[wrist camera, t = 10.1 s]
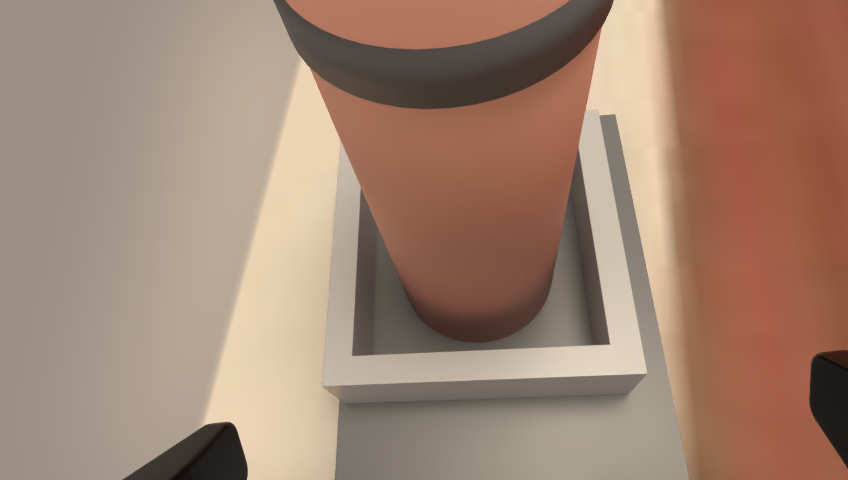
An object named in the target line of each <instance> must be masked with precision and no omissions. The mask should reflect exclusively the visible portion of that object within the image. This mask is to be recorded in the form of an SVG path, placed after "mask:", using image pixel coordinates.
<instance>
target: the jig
mask: <svg viewBox="0 0 848 480" xmlns="http://www.w3.org/2000/svg"><path fill="white" fill-rule="evenodd" d="M322 386H323V387H324V388H325V389H327V390H328V391H329V392H331V393H332V394H333V395H335V396H336V397H338V398H339V399H340V404H339V420H338V437H337V454H336V471H335V480H689V475H688V471H687V466H686V461H685V456H684V451H683V446H682V441H681V436H680V431H679V426H678V421H677V416H676V411H675V407H674V402H673V397H672V392H671V387H670V382H669V377H668V372H667V367H666V362H665V357H664V352H663V348H662V343H661V338H660V333H659V328H658V323H657V318H656V313H655V308H654V303H653V298H652V293H651V288H650V284H649V279H648V274H647V269H646V264H645V259H644V254H643V249H642V244H641V239H640V234H639V229H638V224H637V220H636V215H635V210H634V205H633V200H632V195H631V190H630V185H629V180H628V175H627V170H626V165H625V161H624V156H623V151H622V146H621V141H620V136H619V131H618V126H617V121H616V116H615V114H613V115H602V116H599V112H598V110H588V111H585V115H584V120H583V125H582V130H581V135H580V141H579V146H578V151H577V156H576V161H575V166H574V171H573V176H572V181H571V187H570V192H569V197H568V202H567V207H566V212H565V217H564V222H563V227H562V233H561V238H560V243H559V248H558V253H557V258H556V263H555V268H554V273H553V279H552V284H551V288H550V292H549V295H548V297H547V300H546V302H545V304H544V306H543V307H542V309H541V311H540V312H539V313H538V314H537V316H536V317H535V318H534V319H533V320H532V321H531V322H530V323H529V324H528V325H526V326H525V327H524V328H522V329H521V330H519V331H518V332H516V333H514V334H512V335H510V336H508V337H505V338H502V339H499V340H495V341H490V342H480V343H479V342H465V341H459V340H456V339H452V338H449V337H447V336H445V335H442V334H440V333H439V332H437V331H435V330H434V329H432V328H431V327H430V326H428V325H427V324H426V323H425V322H424V321H423V320H422V319H421V318H420V317H419V316H418V315H417V313H416V312H415V310H414V309H413V307H412V305H411V303H410V301H409V299H408V297H407V295H406V292H405V290H404V288H403V285H402V283H401V281H400V278H399V276H398V274H397V271H396V269H395V267H394V264H393V262H392V259H391V257H390V255H389V252H388V250H387V248H386V245H385V243H384V241H383V238H382V236H381V234H380V231H379V229H378V227H377V224H376V222H375V220H374V217H373V215H372V212H371V210H370V208H369V205H368V203H367V201H366V198H365V196H364V194H363V191H362V189H361V187H360V184H359V182H358V180H357V177H356V175H355V173H354V170H353V168H352V165H351V163H350V161H349V158H348V156H347V154H346V151H345V149H344V147H343V144H342V142H341V140H340V151H339V165H338V178H337V192H336V205H335V219H334V232H333V246H332V259H331V272H330V286H329V299H328V313H327V326H326V340H325V353H324V366H323V380H322Z"/></svg>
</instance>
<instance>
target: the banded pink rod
mask: <svg viewBox="0 0 848 480" xmlns="http://www.w3.org/2000/svg"><path fill="white" fill-rule="evenodd" d="M274 2H275V5H276V7H277V9H278V12H279V14H280V16H281V18H282V21H283V23H284V25H285V27H286V29H287V32H288V34H289V37H290V39H291V41H292V42H293V44H294V46H295V48H296V50H297V52H298V54H299V55H300V56H301V57H302V59H303V60H304V61H305V62H306V64H307V65H308V66H309V67H310V69H311V71H312V74H313V76H314V79H315V81H316V83H317V86H318V88H319V90H320V93H321V95H322V97H323V100H324V102H325V104H326V107H327V109H328V111H329V114H330V116H331V118H332V121H333V123H334V126H335V128H336V130H337V133H338V135H339V137H340V140H341V142H342V144H343V147H344V149H345V151H346V154H347V156H348V158H349V161H350V163H351V165H352V168H353V170H354V173H355V175H356V177H357V180H358V182H359V184H360V187H361V189H362V191H363V194H364V196H365V198H366V201H367V203H368V205H369V208H370V210H371V212H372V215H373V217H374V220H375V222H376V224H377V227H378V229H379V231H380V234H381V236H382V238H383V241H384V243H385V245H386V248H387V250H388V252H389V255H390V257H391V259H392V262H393V264H394V267H395V269H396V271H397V274H398V276H399V278H400V281H401V283H402V285H403V288H404V290H405V292H406V295H407V297H408V299H409V301H410V303H411V305H412V307H413V309H414V310H415V312H416V313H417V315H418V316H419V317H420V318H421V319H422V320H423V321H424V322H425V323H426V324H427V325H428V326H430V327H431V328H432V329H434V330H435V331H437V332H439V333H440V334H442V335H445V336H447V337H449V338H452V339H456V340H459V341H465V342H479V343H480V342H490V341H495V340H499V339H502V338H505V337H508V336H510V335H512V334H514V333H516V332H518V331H519V330H521V329H522V328H524V327H525V326H526V325H528V324H529V323H530V322H531V321H532V320H533V319H534V318H535V317H536V316H537V314H538V313H539V312H540V311H541V309H542V307H543V306H544V304H545V302H546V300H547V297H548V295H549V292H550V288H551V284H552V279H553V273H554V268H555V263H556V258H557V253H558V248H559V243H560V238H561V233H562V227H563V222H564V217H565V212H566V207H567V202H568V197H569V192H570V187H571V181H572V176H573V171H574V166H575V161H576V156H577V151H578V146H579V141H580V135H581V130H582V125H583V120H584V115H585V110H586V105H587V100H588V95H589V89H590V84H591V79H592V74H593V69H594V64H595V59H596V54H597V49H598V43H599V38H600V33H601V28H602V25H603V24H604V22H605V20H606V18H607V16H608V14H609V12H610V9H611V7H612V4H613V0H274Z"/></svg>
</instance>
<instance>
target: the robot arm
mask: <svg viewBox="0 0 848 480" xmlns="http://www.w3.org/2000/svg"><path fill="white" fill-rule="evenodd" d="M809 403H810V408H811V412H812V414H813V416H814V418H815V420H816V421H817V423H818V424H819V426H820V427H821V429H822V430H823V432H824V433H825V435H826V436H827V438H828V439H829V441H830V443H831V444H832V446H833V447H834V449H835V450H836V452H837V453H838V455H839V456H840V458H841V459H842V461H843V462H844V464H845V465H846V467H847V468H848V351H847V350H838V351H830V352H822V353H817V354H816V355H815V356H814V357H813V359H812V362H811V374H810V396H809ZM247 475H248V468H247V462H246V459H245V455H244V452H243V449H242V445H241V442H240V439H239V435H238V432H237V429H236V427H235V426H234V424H232V423H231V422H221V423H213V424H208V425H205V426H203V427H202V428H200V429H199V430H197V431H196V432H194V433H193V434H191V435H190V436H188V437H187V438H186V439H184V440H182V441H181V442H179V443H178V444H176V445H175V446H173V447H172V448H170V449H169V450H167V451H165V452H164V453H163V454H161V455H159V456H158V457H156V458H155V459H153V460H152V461H150V462H149V463H147V464H146V465H144V466H143V467H141V468H140V469H138V470H137V471H135V472H134V473H132V474H131V475H129V476H128V477H126V478H124V479H123V480H247Z"/></svg>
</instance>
